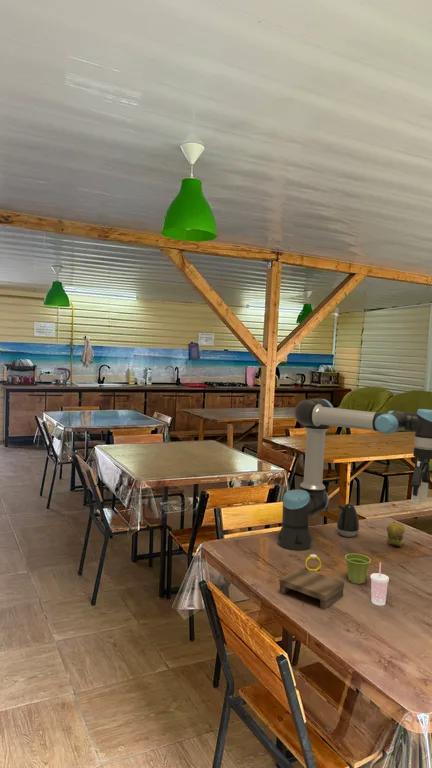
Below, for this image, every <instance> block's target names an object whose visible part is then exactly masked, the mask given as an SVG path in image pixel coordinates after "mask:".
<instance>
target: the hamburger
mask: <svg viewBox="0 0 432 768" xmlns="http://www.w3.org/2000/svg"><path fill="white" fill-rule="evenodd" d="M405 531H406V530H405V526H404V525H403V524H402V523H400V522H397V521H395V520H394V521H391V522H390V523H389V524H387V527H386V532H387V541H386V542H387V543H388V544H390V545H392V546H395V547H401V546H403V544H404V542H403V539H404V535H403V534H405Z"/></svg>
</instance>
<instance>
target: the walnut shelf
mask: <svg viewBox="0 0 432 768" xmlns="http://www.w3.org/2000/svg"><path fill="white" fill-rule="evenodd" d="M278 585H279V593H280V592H282V593H281V594H283V593H284V594H283V595H285V593H286V592H287V593H289V592H290V591H292V590H293V591H297V592H299V593H301V594H304V595H307V596H310V597H312V598H314V599H318V600H320V602H319V608H320V607H322V608H321V609H323V608H324V609H323V610H325V609H326V608H327V607H328V608H330V607H331V606H332V605H333V603H334V604H335V603H336V602H337V601H339V600H340V599H341V598H342V599H343V597H344V588H345V581H343V580H339V579H337V578H333V577H331V576H327V575H324V574H322V573H318V572H317V571H310V570H308V569H307V568H303V567H301V566H300V567H297V568H296V569H294V570H292V571H291V572H290V573H287V574H285V575H284V576H282V577H281V578H279V581H278ZM291 589H292V590H291ZM288 591H289V592H288ZM287 593H286V594H287ZM330 605H331V606H330ZM329 606H330V607H329ZM328 608H327V609H328ZM327 609H326V610H327Z"/></svg>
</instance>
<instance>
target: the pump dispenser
mask: <svg viewBox="0 0 432 768" xmlns="http://www.w3.org/2000/svg"><path fill="white" fill-rule="evenodd" d="M337 507H338V509H340V512H339V514H338V518H337V523H336V528H337V530H338V533H339V534H340V535H341V536H343V537H345V538H353V537H355V536H356V535H357V534H358V532H359V530H360V522H359V521H360V520H359V516H358V512H357V510H356V508H355V506H354V505H353V504H352V503H345V504H344V505H343V506H342V505H340V504H339V505H338V506H337Z"/></svg>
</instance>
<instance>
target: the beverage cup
mask: <svg viewBox="0 0 432 768" xmlns="http://www.w3.org/2000/svg"><path fill="white" fill-rule="evenodd" d="M381 570H382V562H379V570H378V573H377V572H375V573H374V572H373V573H371V574H370V579H371V580H370V584H371V585H370V587H371V590H370V592H371V594H370V596H371V603H372V604H373V605H376V606H385V605H386V601H387V592H388V585H389V581H390V580H389V579H390V577H389V576H388V575H386V574H384V573H381V572H382V571H381Z"/></svg>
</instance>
